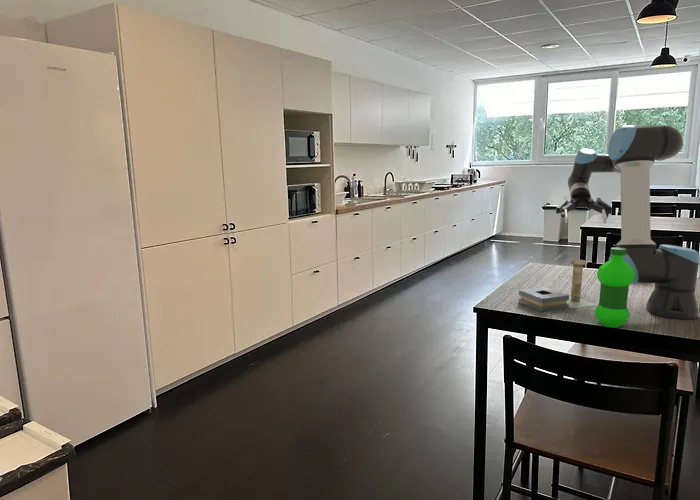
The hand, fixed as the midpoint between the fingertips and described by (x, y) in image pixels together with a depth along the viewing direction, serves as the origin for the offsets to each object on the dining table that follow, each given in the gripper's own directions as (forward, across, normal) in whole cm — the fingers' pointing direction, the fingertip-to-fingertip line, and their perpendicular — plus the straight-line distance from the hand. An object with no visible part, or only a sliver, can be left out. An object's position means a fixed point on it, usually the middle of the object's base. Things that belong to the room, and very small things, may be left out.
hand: (585, 220), depth 186 cm
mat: (+24, +5, -21) cm, 33 cm away
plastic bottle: (+46, -4, -12) cm, 48 cm away
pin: (+23, +4, -21) cm, 32 cm away
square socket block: (+32, +16, -18) cm, 39 cm away
